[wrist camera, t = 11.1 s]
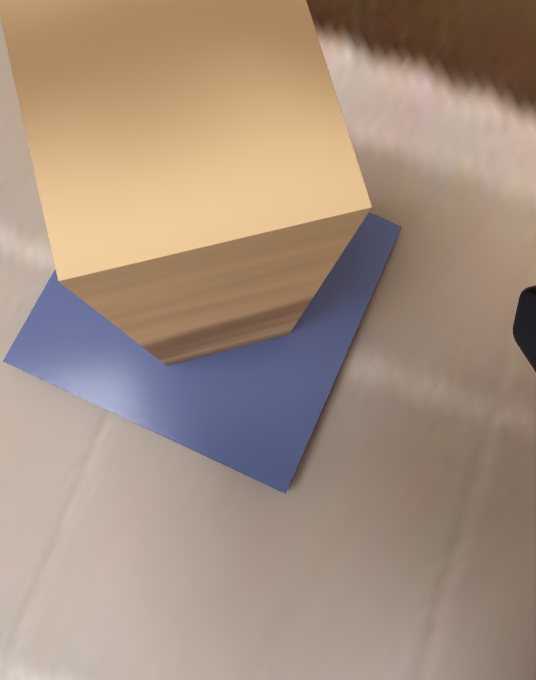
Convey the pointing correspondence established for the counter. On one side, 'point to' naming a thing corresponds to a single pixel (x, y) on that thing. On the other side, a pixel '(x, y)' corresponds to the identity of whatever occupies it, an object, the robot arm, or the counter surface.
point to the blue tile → (214, 368)
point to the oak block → (186, 162)
